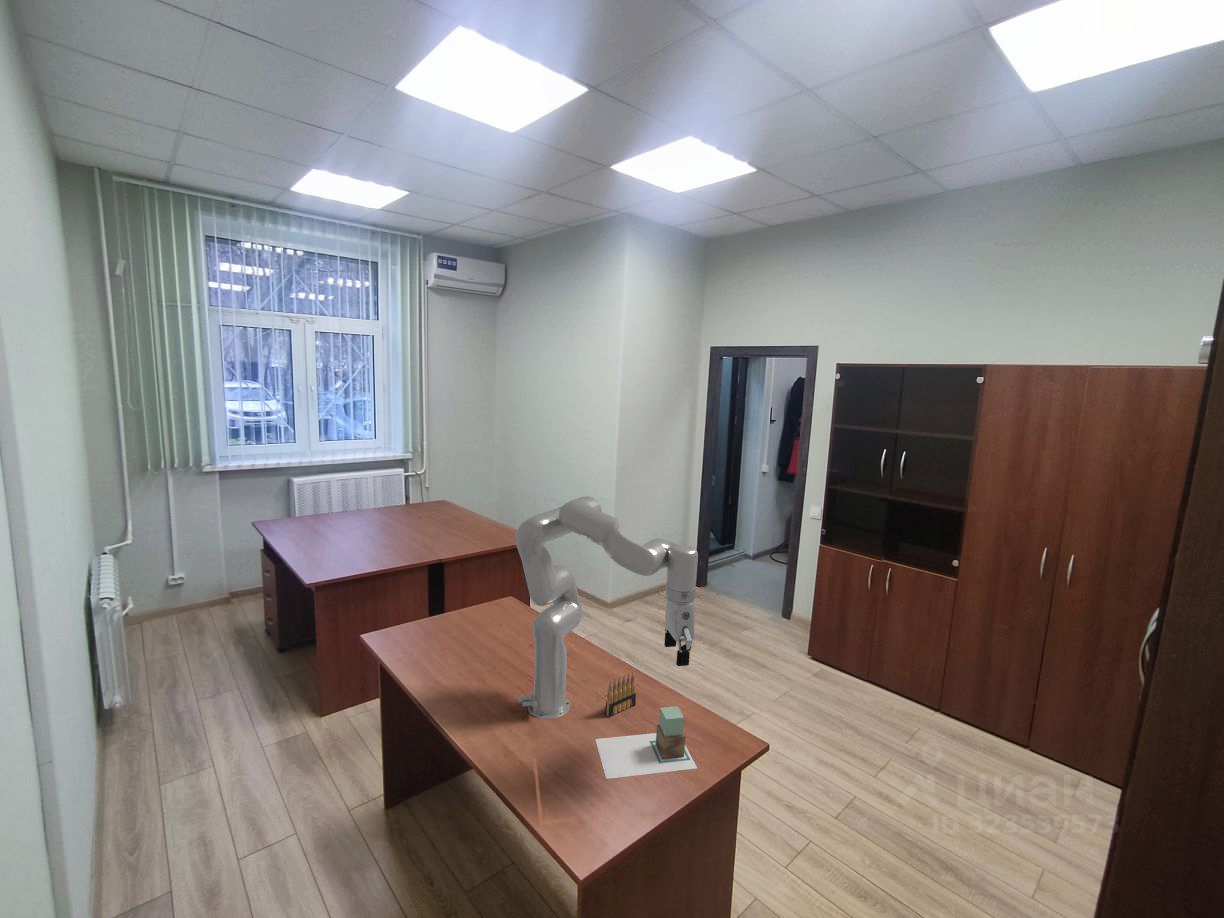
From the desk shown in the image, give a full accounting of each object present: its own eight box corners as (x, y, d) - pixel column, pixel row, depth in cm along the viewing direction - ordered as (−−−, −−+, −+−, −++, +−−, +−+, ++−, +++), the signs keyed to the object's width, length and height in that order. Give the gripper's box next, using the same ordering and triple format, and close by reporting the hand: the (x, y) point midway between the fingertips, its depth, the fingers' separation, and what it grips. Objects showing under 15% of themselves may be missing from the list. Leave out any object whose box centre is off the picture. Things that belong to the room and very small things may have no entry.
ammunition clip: (608, 720, 155) (610, 682, 154) (604, 717, 157) (606, 680, 155) (635, 708, 162) (637, 671, 160) (631, 705, 163) (633, 669, 162)
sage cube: (664, 736, 139) (665, 719, 138) (659, 724, 143) (660, 707, 143) (682, 735, 140) (684, 717, 139) (676, 723, 144) (677, 706, 144)
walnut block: (662, 759, 139) (663, 738, 138) (655, 744, 144) (656, 724, 144) (683, 756, 140) (685, 736, 139) (676, 741, 146) (677, 721, 145)
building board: (606, 782, 131) (606, 778, 131) (595, 742, 146) (595, 738, 145) (697, 771, 136) (697, 767, 136) (677, 734, 151) (677, 730, 151)
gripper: (707, 606, 129) (702, 672, 131) (682, 580, 145) (678, 639, 148) (677, 608, 127) (673, 674, 129) (656, 581, 144) (652, 640, 146)
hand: (676, 655), depth 138 cm, fingers open, 9 cm apart
